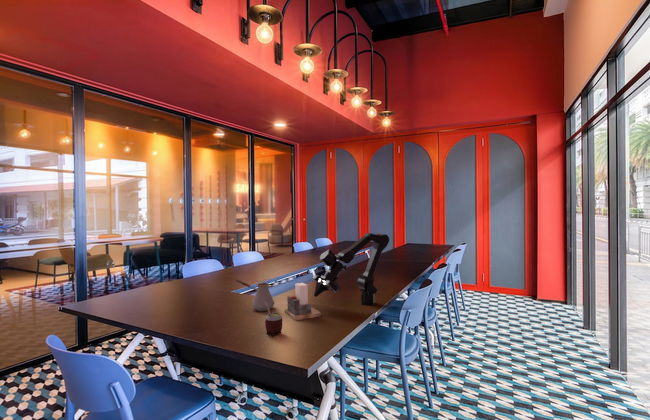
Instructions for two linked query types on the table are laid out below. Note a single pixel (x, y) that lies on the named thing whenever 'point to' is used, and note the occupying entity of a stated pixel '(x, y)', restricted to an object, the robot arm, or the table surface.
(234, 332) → the table surface
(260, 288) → the coffee pot
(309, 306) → the stepped stone block model
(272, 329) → the mate gourd
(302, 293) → the white tall block
